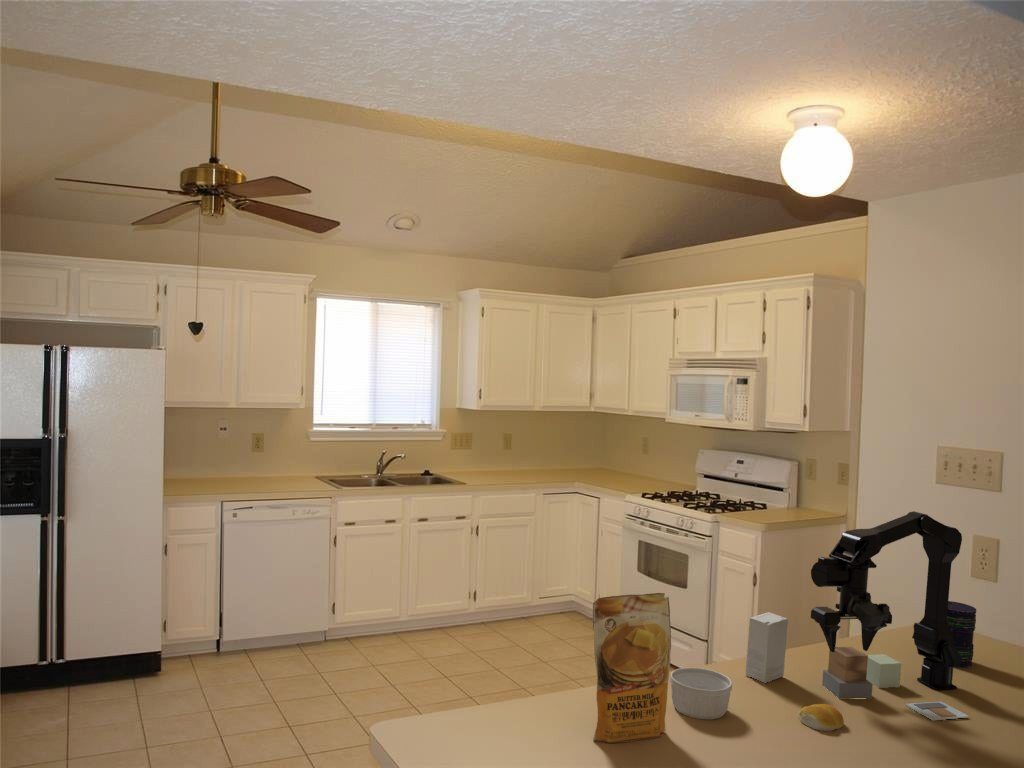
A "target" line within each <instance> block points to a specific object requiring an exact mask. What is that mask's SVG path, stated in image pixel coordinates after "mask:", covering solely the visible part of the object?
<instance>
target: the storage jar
mask: <svg viewBox="0 0 1024 768" xmlns="http://www.w3.org/2000/svg"><path fill="white" fill-rule="evenodd" d="M976 613H977V608H975V607H974V606H972V605H969V604H966V603H962V602H958V601H957V602H956V601H953V600H952V601H950V600H948V612H947V622H948V625H949V627H950V629H951V631H952V634H953V646H954V647H955V649H956V650H957V651H958V653H959V654H960V655H961V657H962V660H961V663H960V665H959V666H956V667H955V668H960V669H963V668H964V669H965V668H967V669H969V668H971V667H972V665H973V661H972V660H973V657H974V647H975V645H974V634H975V633H974V632H975V631H976V623H977V615H976Z"/></svg>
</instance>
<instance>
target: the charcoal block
mask: <svg viewBox="0 0 1024 768" xmlns="http://www.w3.org/2000/svg"><path fill="white" fill-rule="evenodd" d="M821 685H822V686H823V687H824V686H825V687H826V688H827V689H828V690H827V689H826V688H825V687H824V688H825V689H826V690H827V691H829V692H830V691H831V692H832V693H833V694H834V695H833V694H832V693H831V692H830V693H831V694H832V695H833V696H835V697H836V696H837V697H838V698H866V699H865V700H867V699H871V700H872V697H873V694H872V693H873V686H874V685H873V684H872V683H871V682H869V681H868V680H867V679H866V681H855V682H843V681H842V680H840V679H838V678H837V677H835V676H833V675H832V674H830V673H828V669H823V672H822V682H821ZM837 697H836V698H837ZM838 698H837V699H838Z"/></svg>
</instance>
